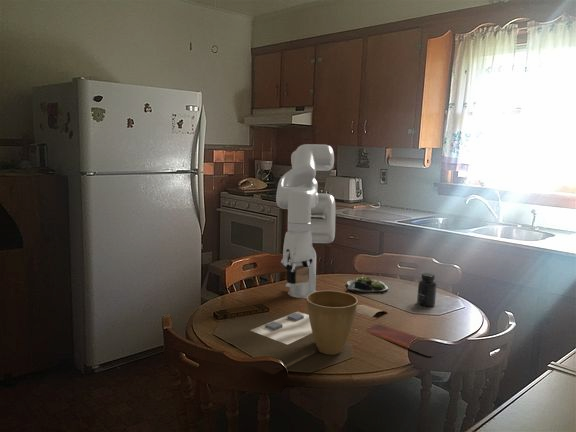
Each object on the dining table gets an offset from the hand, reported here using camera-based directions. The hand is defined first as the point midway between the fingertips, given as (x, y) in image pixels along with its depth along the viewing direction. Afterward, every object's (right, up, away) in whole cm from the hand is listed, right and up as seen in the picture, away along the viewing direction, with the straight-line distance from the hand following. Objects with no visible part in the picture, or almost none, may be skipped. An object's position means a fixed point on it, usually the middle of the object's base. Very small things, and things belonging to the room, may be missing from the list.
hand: (298, 280), depth 156 cm
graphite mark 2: (-1, -14, +5) cm, 15 cm away
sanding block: (0, -1, 0) cm, 1 cm away
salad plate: (+30, -10, +46) cm, 56 cm away
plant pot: (+9, -19, -16) cm, 26 cm away
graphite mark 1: (-8, -15, -3) cm, 17 cm away
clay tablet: (+26, -15, +15) cm, 33 cm away
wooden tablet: (+33, -18, -7) cm, 39 cm away
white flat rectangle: (-2, -16, -2) cm, 16 cm away
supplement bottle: (+50, -13, +26) cm, 58 cm away
